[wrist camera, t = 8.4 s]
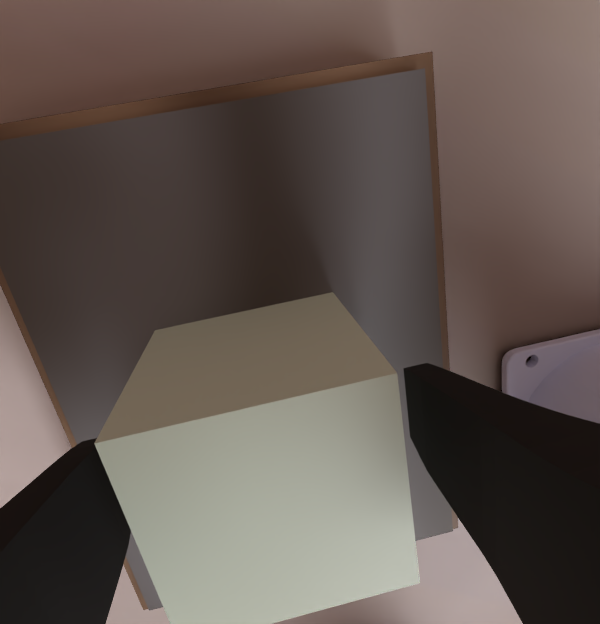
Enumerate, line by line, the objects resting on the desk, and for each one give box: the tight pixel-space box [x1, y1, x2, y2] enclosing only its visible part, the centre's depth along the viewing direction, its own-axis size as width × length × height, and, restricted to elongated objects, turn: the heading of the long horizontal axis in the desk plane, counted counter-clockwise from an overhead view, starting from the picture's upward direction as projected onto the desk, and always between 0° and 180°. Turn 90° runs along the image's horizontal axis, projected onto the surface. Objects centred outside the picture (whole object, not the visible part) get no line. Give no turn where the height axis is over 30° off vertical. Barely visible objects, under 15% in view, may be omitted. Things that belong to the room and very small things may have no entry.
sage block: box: [94, 292, 420, 624], centre depth 10 cm, size 5×5×5 cm
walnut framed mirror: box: [0, 52, 458, 610], centre depth 13 cm, size 12×16×2 cm
